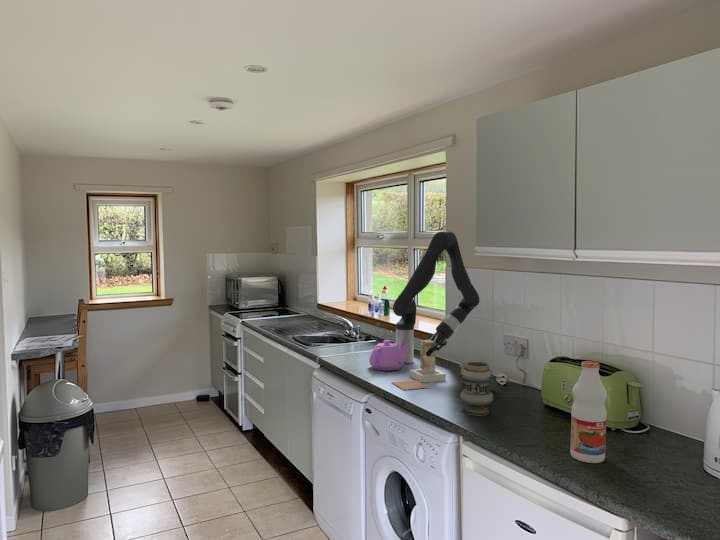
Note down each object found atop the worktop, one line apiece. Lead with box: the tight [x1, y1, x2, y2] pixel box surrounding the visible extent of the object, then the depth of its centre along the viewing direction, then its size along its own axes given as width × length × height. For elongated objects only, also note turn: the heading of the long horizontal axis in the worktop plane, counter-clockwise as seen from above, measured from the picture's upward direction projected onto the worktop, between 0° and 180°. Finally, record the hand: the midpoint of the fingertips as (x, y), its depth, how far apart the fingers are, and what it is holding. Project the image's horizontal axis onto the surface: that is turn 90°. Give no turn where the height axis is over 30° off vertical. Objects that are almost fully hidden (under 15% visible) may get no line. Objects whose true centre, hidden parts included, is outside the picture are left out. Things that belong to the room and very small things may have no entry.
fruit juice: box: [570, 360, 608, 464], centre depth 157 cm, size 9×9×28 cm
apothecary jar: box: [459, 360, 494, 417], centre depth 199 cm, size 12×12×18 cm
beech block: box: [419, 339, 436, 371], centre depth 247 cm, size 5×5×13 cm
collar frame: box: [409, 368, 447, 383], centre depth 247 cm, size 12×12×3 cm
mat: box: [391, 379, 430, 391], centre depth 234 cm, size 12×12×1 cm
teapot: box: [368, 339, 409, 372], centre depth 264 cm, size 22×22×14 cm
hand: (424, 353), depth 246 cm, fingers closed on beech block, 5 cm apart
